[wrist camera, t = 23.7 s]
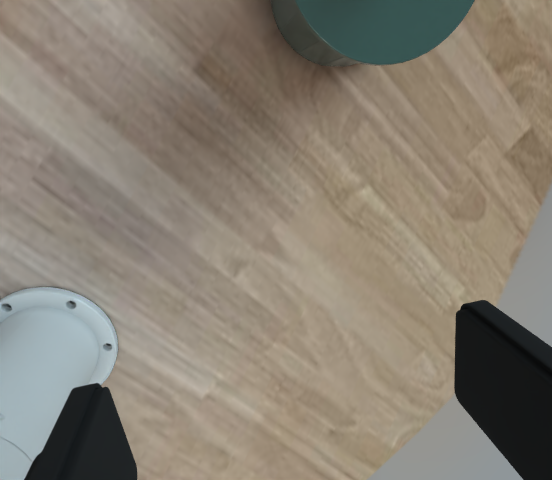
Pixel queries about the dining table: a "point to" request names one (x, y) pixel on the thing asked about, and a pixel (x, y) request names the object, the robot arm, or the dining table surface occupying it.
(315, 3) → the lid
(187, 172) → the dining table surface
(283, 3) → the pot
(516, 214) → the dining table surface
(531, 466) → the robot arm
